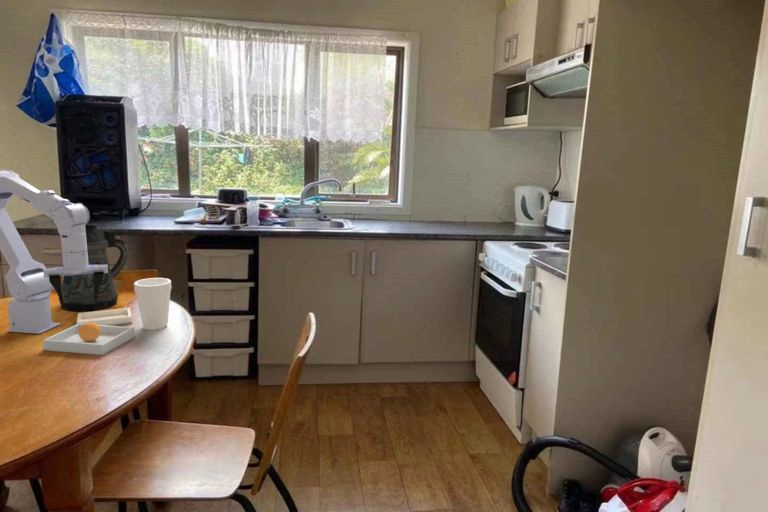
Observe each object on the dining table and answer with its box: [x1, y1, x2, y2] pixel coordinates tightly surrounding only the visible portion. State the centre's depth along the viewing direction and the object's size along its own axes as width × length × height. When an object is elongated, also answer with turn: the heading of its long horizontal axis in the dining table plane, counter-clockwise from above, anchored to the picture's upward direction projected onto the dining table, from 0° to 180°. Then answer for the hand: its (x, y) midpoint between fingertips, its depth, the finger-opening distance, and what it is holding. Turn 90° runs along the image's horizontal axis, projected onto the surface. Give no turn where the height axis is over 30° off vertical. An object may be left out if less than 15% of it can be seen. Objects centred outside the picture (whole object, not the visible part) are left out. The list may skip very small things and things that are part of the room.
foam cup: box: [133, 277, 172, 331], centre depth 150 cm, size 10×9×13 cm
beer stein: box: [58, 224, 129, 313], centre depth 167 cm, size 16×19×25 cm
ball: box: [78, 322, 101, 342], centre depth 137 cm, size 5×5×5 cm
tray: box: [42, 323, 135, 356], centre depth 137 cm, size 16×13×3 cm
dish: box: [76, 307, 133, 326], centre depth 154 cm, size 14×9×2 cm
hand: (79, 301), depth 141 cm, fingers open, 7 cm apart
